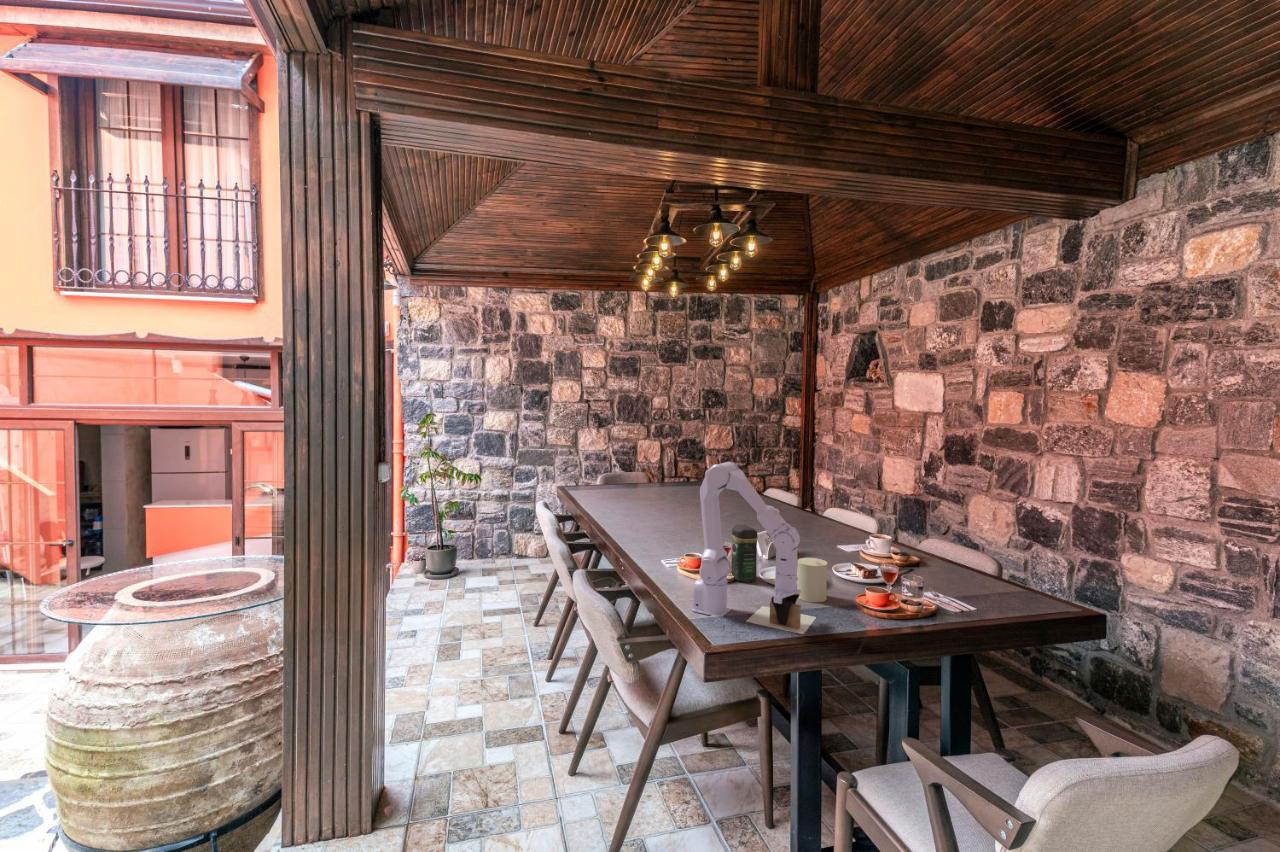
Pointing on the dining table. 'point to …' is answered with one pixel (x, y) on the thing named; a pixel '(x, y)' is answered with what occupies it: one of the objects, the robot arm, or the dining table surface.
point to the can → (812, 579)
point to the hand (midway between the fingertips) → (784, 621)
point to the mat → (764, 618)
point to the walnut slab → (793, 616)
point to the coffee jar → (744, 553)
